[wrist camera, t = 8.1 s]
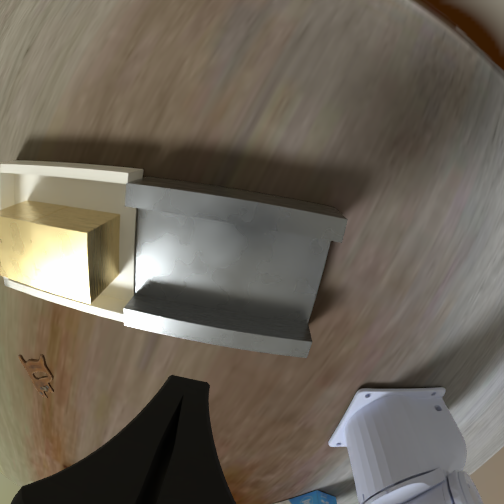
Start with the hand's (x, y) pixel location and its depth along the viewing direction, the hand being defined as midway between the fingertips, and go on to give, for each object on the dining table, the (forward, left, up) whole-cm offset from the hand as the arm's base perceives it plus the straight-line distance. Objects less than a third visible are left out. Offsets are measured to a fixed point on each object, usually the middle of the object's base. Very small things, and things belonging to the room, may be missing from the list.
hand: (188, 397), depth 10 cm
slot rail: (0, -2, -10) cm, 10 cm away
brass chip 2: (+9, -1, -9) cm, 13 cm away
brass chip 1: (+13, -1, -9) cm, 16 cm away
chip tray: (+11, -2, -10) cm, 15 cm away
